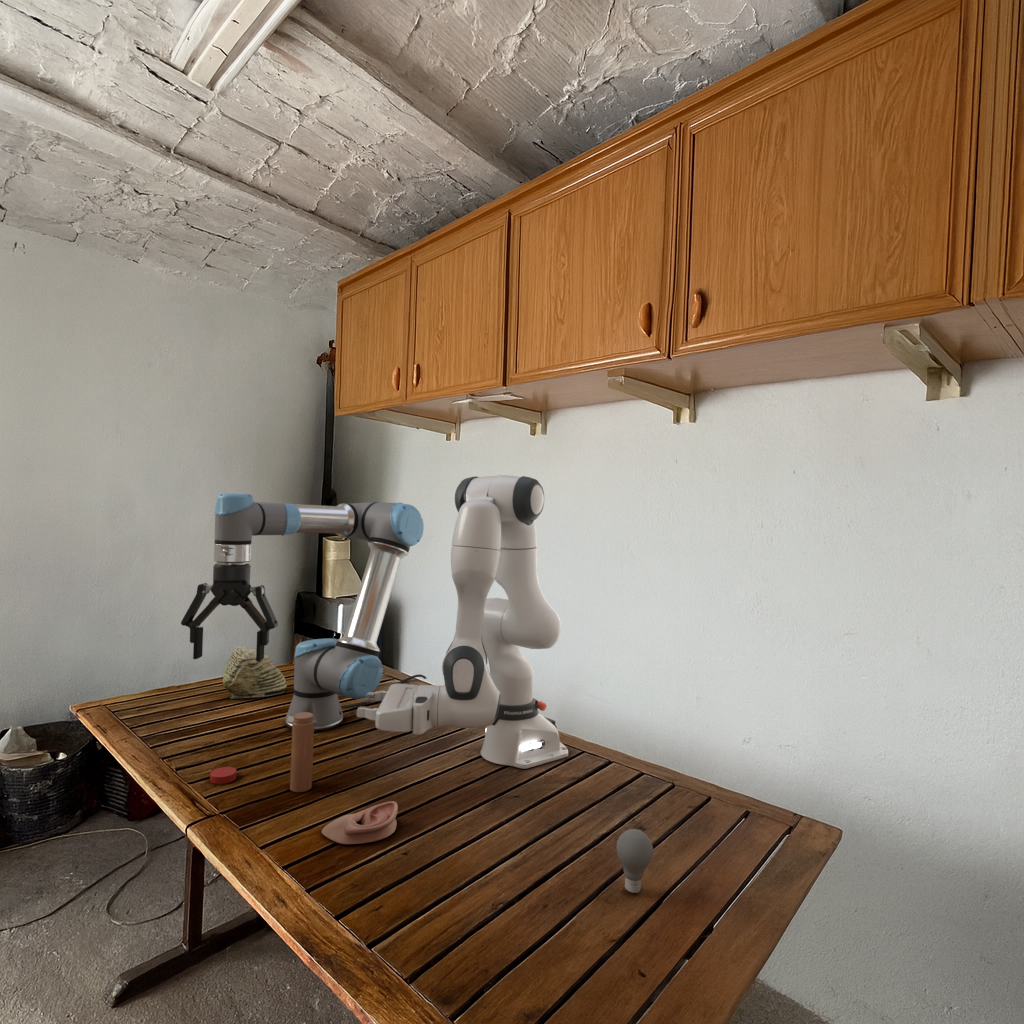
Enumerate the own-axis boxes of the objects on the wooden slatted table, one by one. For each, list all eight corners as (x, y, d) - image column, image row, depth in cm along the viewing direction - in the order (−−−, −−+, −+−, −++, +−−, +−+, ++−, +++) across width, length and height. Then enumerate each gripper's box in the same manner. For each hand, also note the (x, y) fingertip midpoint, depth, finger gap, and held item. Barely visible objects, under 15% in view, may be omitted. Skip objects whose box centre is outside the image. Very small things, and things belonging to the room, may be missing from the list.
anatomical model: (313, 818, 117) (342, 790, 128) (313, 839, 117) (341, 810, 128) (381, 829, 114) (404, 800, 125) (380, 850, 114) (403, 819, 125)
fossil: (218, 695, 195) (220, 647, 195) (278, 685, 208) (279, 640, 207) (228, 703, 189) (230, 653, 188) (289, 692, 201) (290, 645, 201)
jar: (285, 787, 137) (288, 714, 137) (305, 780, 141) (307, 710, 141) (296, 794, 134) (299, 720, 134) (316, 787, 138) (318, 715, 137)
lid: (206, 784, 137) (207, 777, 137) (213, 774, 142) (214, 767, 142) (232, 783, 138) (233, 776, 138) (238, 773, 143) (239, 766, 143)
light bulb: (610, 879, 108) (613, 822, 108) (644, 879, 109) (647, 822, 109) (619, 902, 102) (622, 840, 102) (655, 901, 103) (658, 840, 103)
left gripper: (166, 562, 135) (162, 661, 136) (283, 567, 136) (280, 665, 137) (183, 559, 143) (179, 652, 143) (294, 563, 144) (291, 656, 144)
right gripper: (430, 677, 149) (371, 676, 148) (420, 707, 128) (352, 705, 128) (429, 704, 149) (370, 702, 148) (419, 738, 128) (351, 736, 128)
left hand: (228, 658), depth 140 cm, fingers open, 13 cm apart
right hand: (361, 704), depth 138 cm, fingers open, 8 cm apart
